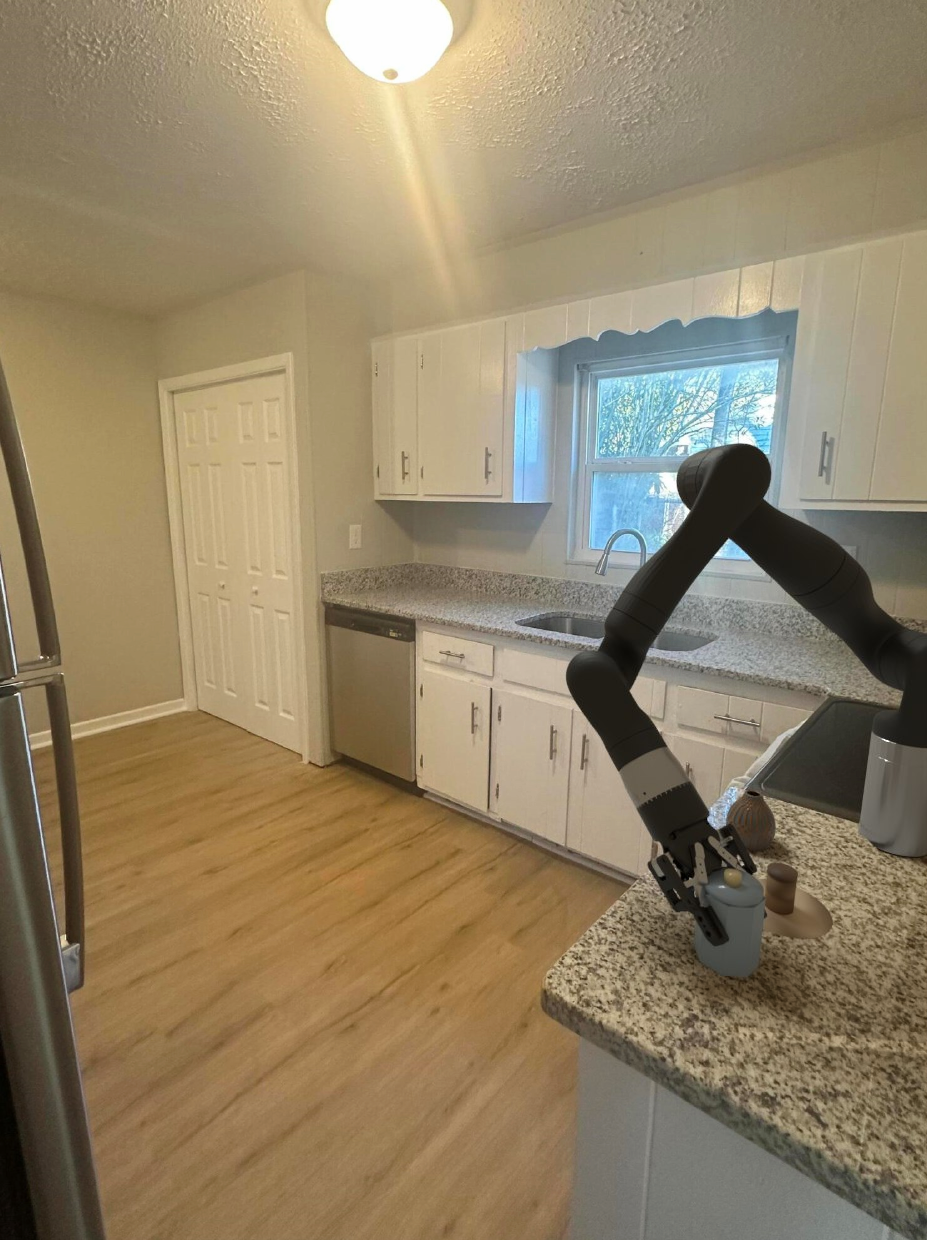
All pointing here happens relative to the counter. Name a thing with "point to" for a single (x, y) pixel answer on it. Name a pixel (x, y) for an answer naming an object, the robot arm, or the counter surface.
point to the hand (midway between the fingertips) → (741, 931)
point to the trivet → (799, 917)
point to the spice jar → (780, 888)
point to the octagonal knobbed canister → (733, 922)
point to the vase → (752, 820)
